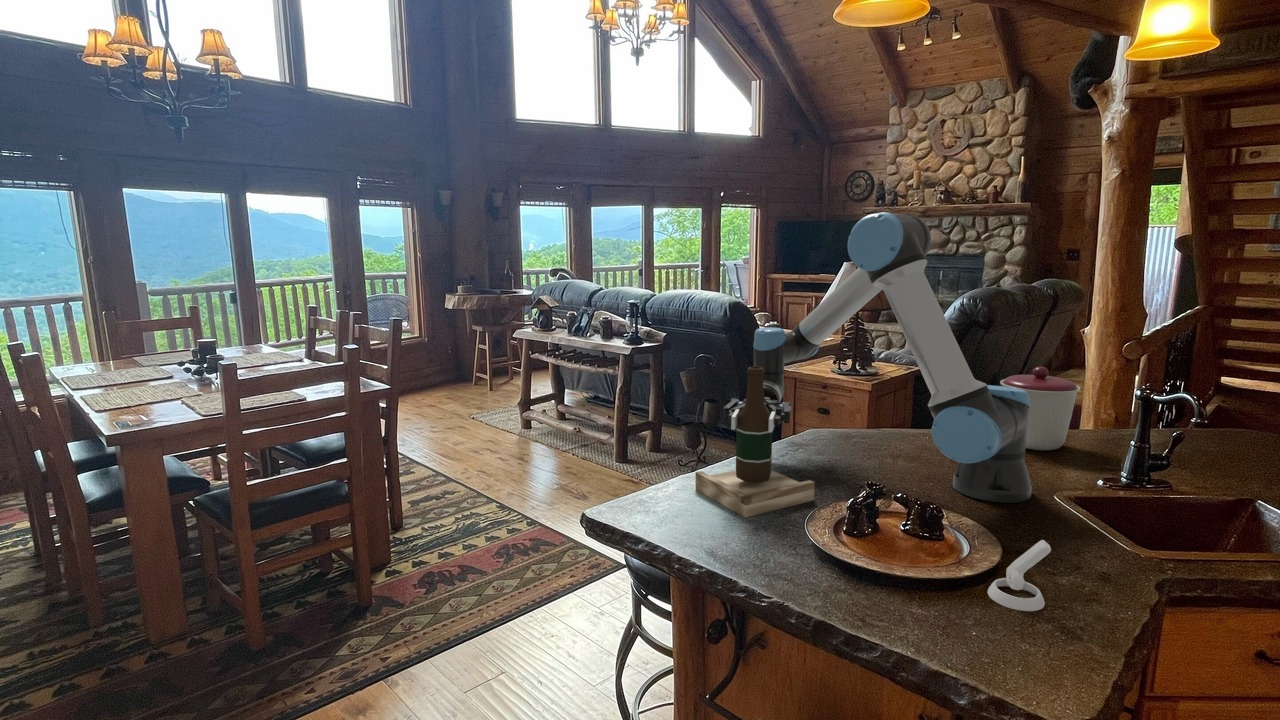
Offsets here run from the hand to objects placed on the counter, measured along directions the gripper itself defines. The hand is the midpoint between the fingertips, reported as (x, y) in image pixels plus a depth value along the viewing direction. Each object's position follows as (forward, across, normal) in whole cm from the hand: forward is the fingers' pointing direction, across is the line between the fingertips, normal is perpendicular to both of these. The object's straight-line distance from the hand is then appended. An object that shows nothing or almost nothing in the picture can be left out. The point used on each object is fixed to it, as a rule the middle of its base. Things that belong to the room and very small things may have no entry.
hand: (751, 424), depth 139 cm
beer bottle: (-5, 0, -13) cm, 14 cm away
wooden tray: (-5, 0, -17) cm, 18 cm away
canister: (-59, -67, -17) cm, 91 cm away
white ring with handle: (+28, -44, -17) cm, 55 cm away
